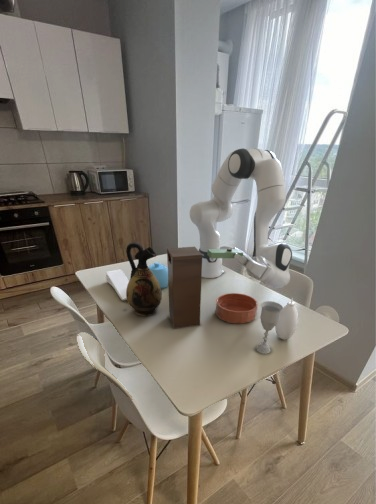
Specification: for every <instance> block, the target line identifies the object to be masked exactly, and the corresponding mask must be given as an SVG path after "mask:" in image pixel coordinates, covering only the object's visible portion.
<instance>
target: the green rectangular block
mask: <svg viewBox="0 0 376 504" xmlns="http://www.w3.org/2000/svg"><path fill="white" fill-rule="evenodd" d="M240 250H241V249H239V248H238V249H233V248H231V247H228V248H220V249H208V252H207V255H208V256H209V257H210V258H221V259H235V258H234V257H233V255H234V254H235V253H237V254H239V255H240V256H242V257H243V252H244V251H243V250H241V251H240ZM242 251H243V252H242Z"/></svg>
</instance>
